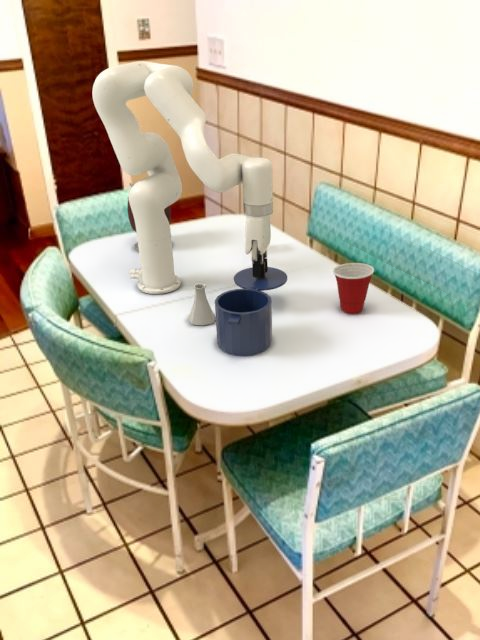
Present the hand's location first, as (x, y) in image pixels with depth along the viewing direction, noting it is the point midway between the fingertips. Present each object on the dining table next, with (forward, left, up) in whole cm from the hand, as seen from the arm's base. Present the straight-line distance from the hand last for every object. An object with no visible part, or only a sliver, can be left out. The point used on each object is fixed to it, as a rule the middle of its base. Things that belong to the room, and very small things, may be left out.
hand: (260, 274), depth 172 cm
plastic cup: (+25, +2, -9) cm, 27 cm away
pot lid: (0, 0, -2) cm, 2 cm away
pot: (+1, -21, -9) cm, 23 cm away
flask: (-13, -12, -9) cm, 20 cm away
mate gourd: (-46, +35, -9) cm, 59 cm away
